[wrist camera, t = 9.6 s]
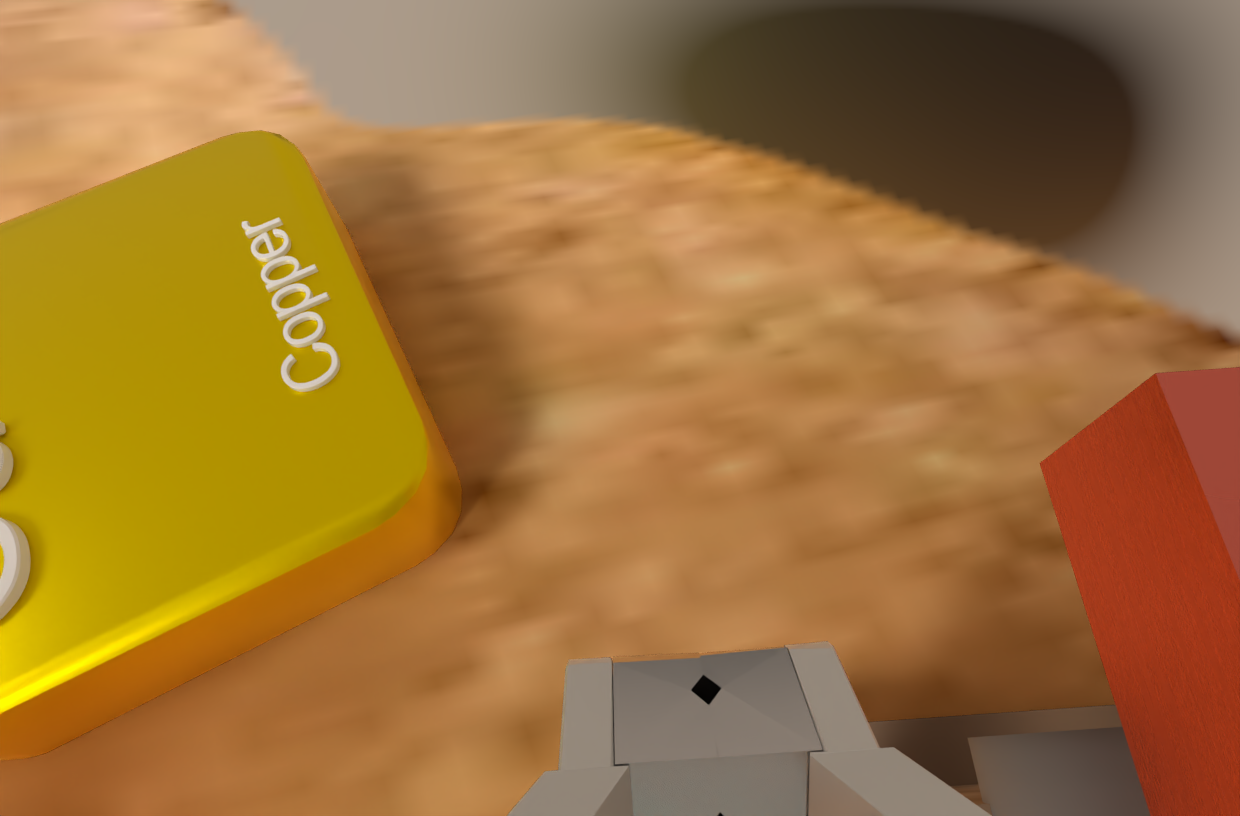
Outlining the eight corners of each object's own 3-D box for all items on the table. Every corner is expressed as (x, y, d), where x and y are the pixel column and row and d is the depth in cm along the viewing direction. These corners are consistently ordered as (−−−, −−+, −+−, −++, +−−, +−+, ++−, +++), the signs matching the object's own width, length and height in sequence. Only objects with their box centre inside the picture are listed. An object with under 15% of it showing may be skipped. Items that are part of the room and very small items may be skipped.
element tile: (488, 534, 23) (448, 481, 19) (-19, 791, 20) (-200, 800, 16) (332, 195, 29) (274, 95, 24) (-75, 364, 26) (-219, 286, 22)
